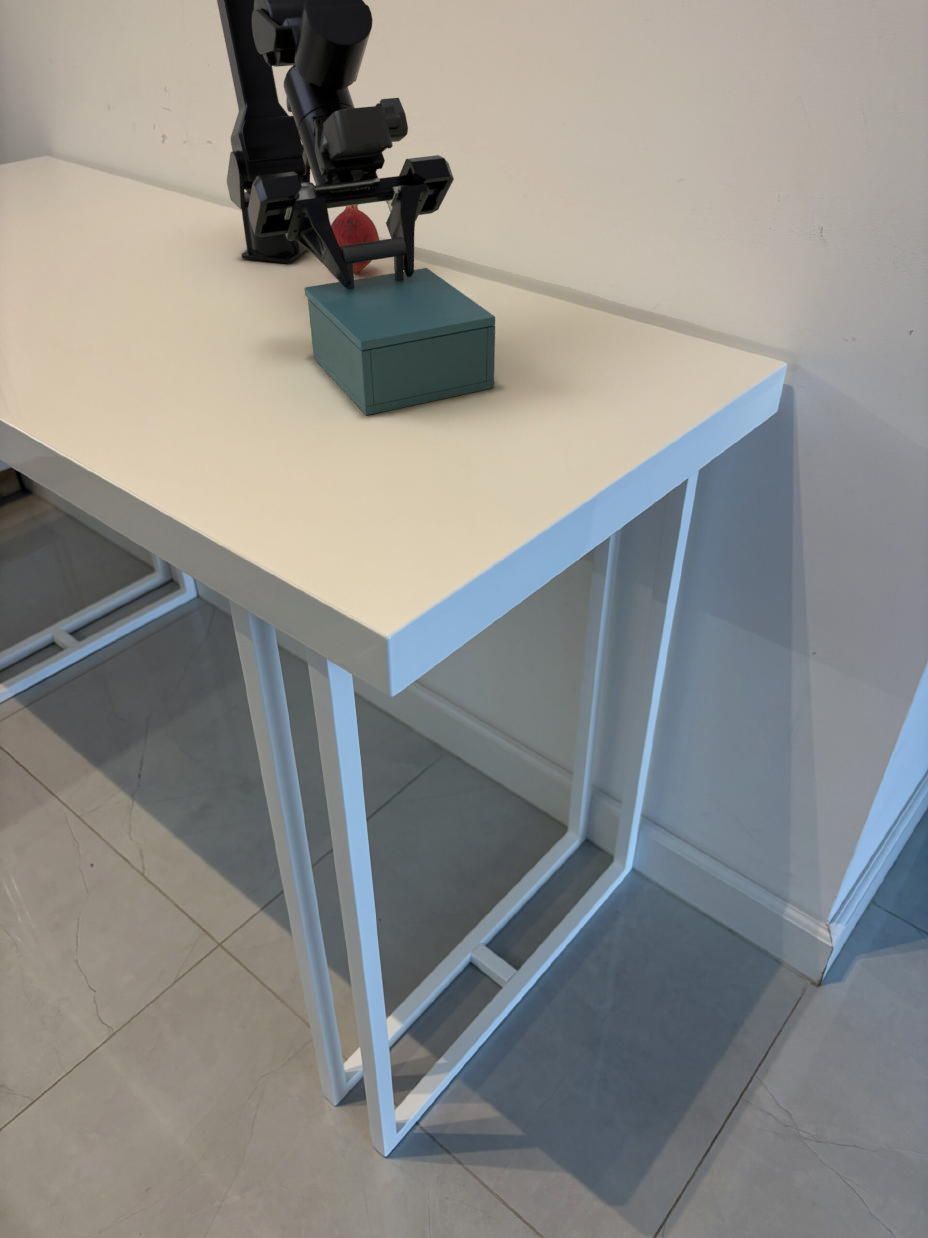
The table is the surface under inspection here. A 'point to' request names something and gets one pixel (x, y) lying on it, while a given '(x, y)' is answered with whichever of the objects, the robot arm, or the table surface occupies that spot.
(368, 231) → the onion
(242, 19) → the robot arm
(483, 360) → the cool box
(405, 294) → the cool box lid
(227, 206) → the table surface
